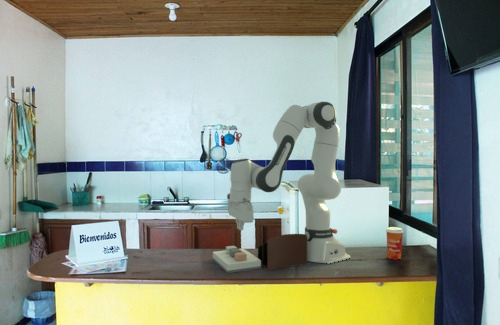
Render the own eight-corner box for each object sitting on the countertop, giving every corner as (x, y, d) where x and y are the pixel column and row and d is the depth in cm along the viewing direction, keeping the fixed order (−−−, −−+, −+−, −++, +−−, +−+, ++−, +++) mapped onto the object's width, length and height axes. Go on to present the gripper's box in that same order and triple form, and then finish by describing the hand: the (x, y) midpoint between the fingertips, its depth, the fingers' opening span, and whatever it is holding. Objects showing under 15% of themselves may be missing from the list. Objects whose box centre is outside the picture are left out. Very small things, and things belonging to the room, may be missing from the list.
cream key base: (243, 255, 168) (243, 248, 168) (260, 268, 150) (260, 260, 150) (212, 259, 163) (212, 251, 162) (227, 273, 144) (227, 264, 144)
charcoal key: (238, 255, 159) (238, 248, 159) (241, 257, 155) (241, 250, 155) (230, 256, 157) (230, 249, 157) (233, 258, 154) (233, 251, 154)
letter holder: (307, 264, 157) (307, 232, 156) (267, 270, 148) (267, 236, 148) (295, 258, 166) (295, 228, 165) (257, 263, 158) (257, 231, 157)
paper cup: (382, 258, 166) (382, 228, 165) (390, 254, 171) (390, 226, 170) (398, 262, 160) (399, 231, 159) (406, 258, 165) (406, 228, 164)
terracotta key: (243, 258, 154) (243, 251, 154) (246, 261, 150) (246, 254, 150) (234, 259, 152) (234, 252, 152) (237, 262, 149) (237, 255, 148)
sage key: (234, 252, 164) (234, 245, 164) (237, 254, 160) (237, 247, 160) (225, 253, 162) (225, 246, 162) (228, 255, 159) (228, 248, 159)
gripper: (257, 199, 142) (257, 234, 142) (238, 194, 161) (238, 224, 161) (243, 200, 140) (242, 235, 140) (225, 194, 158) (225, 225, 159)
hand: (240, 229), depth 151 cm, fingers closed
